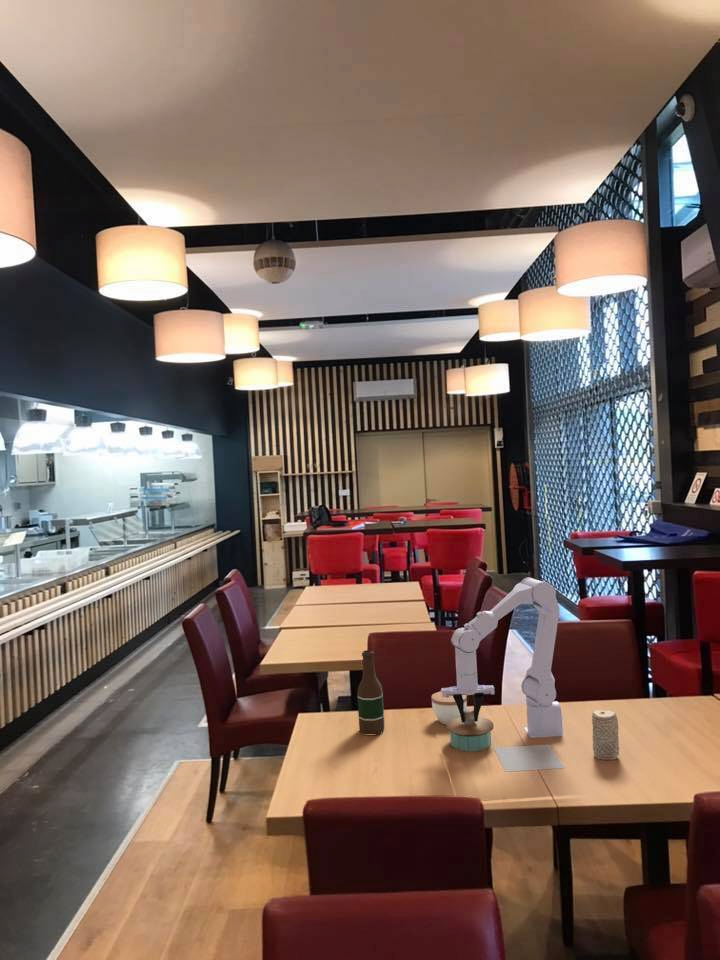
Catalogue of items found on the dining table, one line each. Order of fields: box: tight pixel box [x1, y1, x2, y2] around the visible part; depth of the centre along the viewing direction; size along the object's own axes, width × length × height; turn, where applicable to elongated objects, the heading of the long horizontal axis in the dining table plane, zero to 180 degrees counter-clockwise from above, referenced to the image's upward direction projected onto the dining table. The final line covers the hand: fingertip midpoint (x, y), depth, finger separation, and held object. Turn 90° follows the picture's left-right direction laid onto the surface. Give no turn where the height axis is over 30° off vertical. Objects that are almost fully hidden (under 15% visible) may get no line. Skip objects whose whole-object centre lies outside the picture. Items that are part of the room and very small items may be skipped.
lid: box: [445, 709, 494, 736], centre depth 197 cm, size 13×13×4 cm
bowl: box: [449, 731, 492, 752], centre depth 198 cm, size 11×11×4 cm
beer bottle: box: [356, 649, 385, 735], centre depth 212 cm, size 8×8×24 cm
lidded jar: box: [430, 691, 468, 725], centre depth 217 cm, size 11×11×9 cm
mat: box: [493, 744, 566, 773], centre depth 186 cm, size 15×15×1 cm
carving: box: [591, 709, 620, 761], centre depth 184 cm, size 6×8×12 cm
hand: (469, 720), depth 198 cm, fingers closed on lid, 3 cm apart
